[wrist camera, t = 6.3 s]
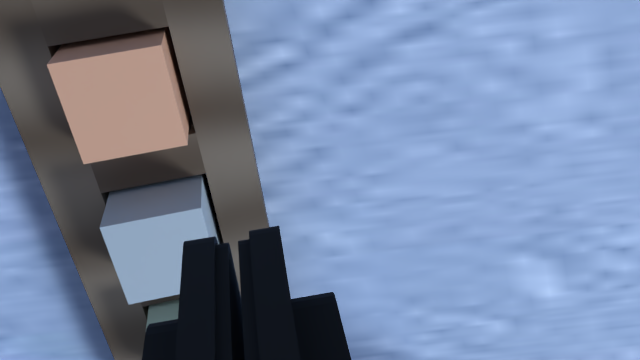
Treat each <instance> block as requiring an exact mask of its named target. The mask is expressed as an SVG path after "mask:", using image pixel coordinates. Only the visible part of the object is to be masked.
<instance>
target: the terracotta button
mask: <svg viewBox="0 0 640 360" xmlns="http://www.w3.org/2000/svg"><path fill="white" fill-rule="evenodd" d="M47 67H48V69H49V72H50V75H51V77H52V80H53V83H54V86H55V88H56V91H57V94H58V96H59V99H60V102H61V104H62V107H63V110H64V113H65V115H66V118H67V121H68V123H69V126H70V129H71V132H72V134H73V137H74V140H75V142H76V145H77V148H78V150H79V153H80V156H81V159H82V161H83V164H88V163H93V162H99V161H104V160H110V159H115V158H120V157H126V156H131V155H137V154H142V153H148V152H153V151H158V150H164V149H169V148H175V147H180V146H185V145H188V132H189V117H190V109H189V105H188V101H187V97H186V93H185V89H184V85H183V81H182V77H181V73H180V69H179V66H178V62H177V58H176V54H175V50H174V46H173V42H172V38H171V34H170V30H169V26H168V27H162V28H156V29H150V30H144V31H138V32H132V33H126V34H120V35H114V36H108V37H102V38H96V39H90V40H84V41H78V42H72V43H66V44H62V45H61V47H60V48H59V49H58V50H57V52H56V53H55V54H54V56H53V57H52V58H51V60H50V61H49V62H48V64H47Z"/></svg>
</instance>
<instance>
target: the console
mask: <svg viewBox="0 0 640 360" xmlns="http://www.w3.org/2000/svg"><path fill="white" fill-rule="evenodd" d="M168 26H169V29H170V33H171V37H172V41H173V45H174V49H175V53H176V57H177V61H178V65H179V69H180V73H181V77H182V81H183V85H184V89H185V93H186V97H187V100H188V104H189V108H190V112H191V113H190V117H189V132H188V145H185V146H180V147H175V148H169V149H164V150H158V151H153V152H148V153H142V154H137V155H131V156H126V157H120V158H115V159H110V160H104V161H99V162H93V163H88V164H83V161H82V159H81V156H80V153H79V150H78V148H77V145H76V142H75V140H74V137H73V134H72V132H71V129H70V126H69V123H68V121H67V118H66V115H65V113H64V110H63V107H62V104H61V102H60V99H59V96H58V94H57V91H56V88H55V86H54V83H53V80H52V77H51V75H50V72H49V69H48V67H47V64H48V62H49V61H50V60H51V58H52V57H53V56H54V54H55V53H56V52H57V50H58V49H59V48H60V47H61V45H62V44H66V43H72V42H78V41H84V40H90V39H96V38H102V37H108V36H114V35H120V34H126V33H132V32H138V31H144V30H150V29H156V28H162V27H168ZM0 87H1V89H2V92H3V94H4V96H5V99H6V101H7V104H8V106H9V108H10V111H11V113H12V116H13V118H14V120H15V123H16V125H17V128H18V130H19V132H20V135H21V137H22V139H23V142H24V144H25V147H26V149H27V151H28V154H29V156H30V159H31V161H32V163H33V166H34V168H35V171H36V173H37V175H38V178H39V180H40V182H41V185H42V187H43V190H44V192H45V194H46V197H47V199H48V202H49V204H50V206H51V209H52V211H53V214H54V216H55V218H56V221H57V223H58V225H59V228H60V230H61V233H62V235H63V237H64V240H65V242H66V245H67V247H68V249H69V252H70V254H71V257H72V259H73V261H74V264H75V266H76V268H77V271H78V273H79V276H80V278H81V280H82V283H83V285H84V288H85V290H86V292H87V295H88V297H89V300H90V302H91V304H92V307H93V309H94V311H95V314H96V316H97V319H98V321H99V323H100V326H101V328H102V331H103V333H104V335H105V338H106V340H107V343H108V345H109V347H110V350H111V352H112V354H113V357H114V359H115V360H142V355H143V347H144V340H145V333H146V325H147V317H148V309H149V305H153V304H158V303H163V302H167V301H172V300H177V299H179V296H180V294H178V295H173V296H168V297H164V298H159V299H154V300H149V301H144V302H139V303H134V304H129V305H128V302H127V299H126V297H125V294H124V291H123V289H122V286H121V283H120V281H119V278H118V275H117V273H116V270H115V267H114V265H113V262H112V259H111V257H110V254H109V252H108V249H107V246H106V244H105V241H104V238H103V236H102V233H101V230H100V224H101V221H102V217H103V214H104V210H105V207H106V203H107V200H108V196H109V193H110V191H115V190H121V189H126V188H131V187H136V186H142V185H147V184H152V183H158V182H163V181H168V180H173V179H179V178H184V177H189V176H195V175H200V174H205V173H206V175H207V179H208V183H209V187H210V191H211V195H212V199H213V203H214V207H215V211H216V215H217V219H218V223H219V227H220V229H218V232H219V235H220V244H222V243H229V245H230V249H231V253H232V258H233V263H234V267H235V272H236V276H237V281H238V286H239V290H240V295H241V287H240V270H239V252H238V241H240V240H246V239H249V231H251V230H257V229H263V228H269V223H268V218H267V213H266V208H265V203H264V198H263V193H262V188H261V183H260V179H259V174H258V169H257V164H256V159H255V154H254V149H253V144H252V139H251V134H250V129H249V124H248V119H247V114H246V109H245V104H244V99H243V95H242V90H241V85H240V80H239V75H238V70H237V65H236V60H235V55H234V50H233V45H232V40H231V35H230V30H229V25H228V20H227V15H226V11H225V6H224V1H223V0H0Z"/></svg>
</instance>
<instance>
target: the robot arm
mask: <svg viewBox="0 0 640 360" xmlns="http://www.w3.org/2000/svg"><path fill="white" fill-rule="evenodd" d="M238 252H239V270H240V287H241V295H240V290H239V286H238V281H237V276H236V272H235V267H234V263H233V258H232V253H231V249H230V245H229V243H222V244H218V242H217V239H216V237H215V236H214V237H208V238H202V239H196V240H189V241H184V243H183V254H182V268H181V282H180V296H179V310H178V319H174V320H169V321H163V322H157V323H151V324H149V325H148V326H147V329H146V333H145V340H144V347H143V355H142V360H351V357H350V353H349V349H348V345H347V341H346V337H345V334H344V330H343V326H342V322H341V318H340V314H339V310H338V306H337V302H336V299H335V295H334V293H333V292H330V293H324V294H319V295H313V296H307V297H301V298H296V299H291V298H290V292H289V285H288V279H287V273H286V267H285V260H284V254H283V248H282V242H281V236H280V229H279V226H275V227H269V228H263V229H257V230H251V231H249V239H246V240H240V241H238Z"/></svg>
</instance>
